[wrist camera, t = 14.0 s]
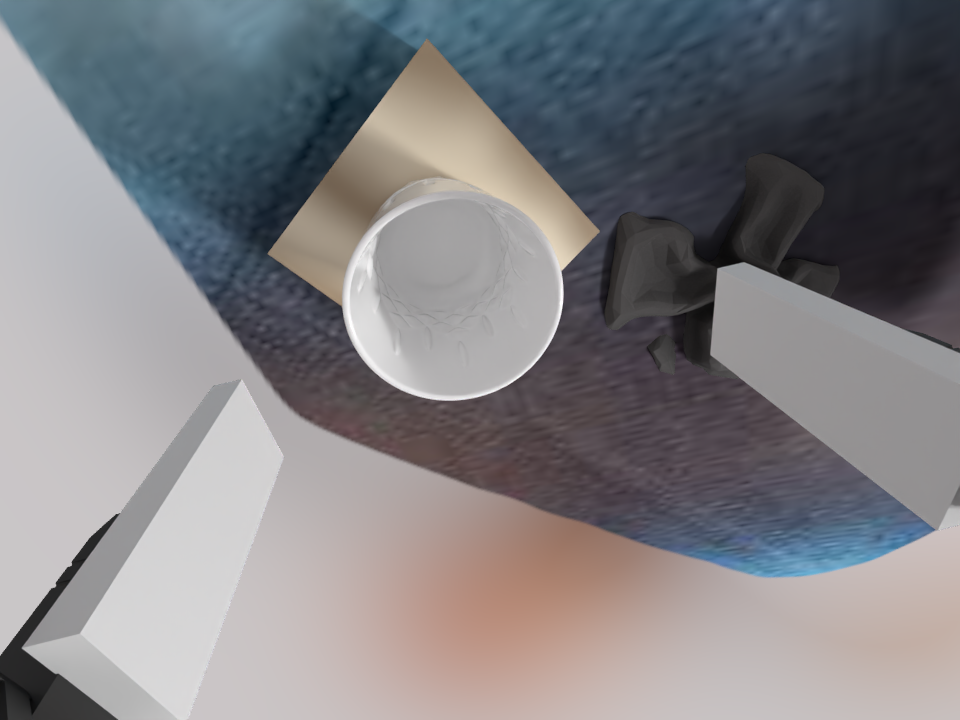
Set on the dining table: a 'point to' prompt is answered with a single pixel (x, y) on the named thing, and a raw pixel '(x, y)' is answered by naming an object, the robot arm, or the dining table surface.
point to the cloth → (692, 280)
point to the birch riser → (423, 172)
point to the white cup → (451, 291)
